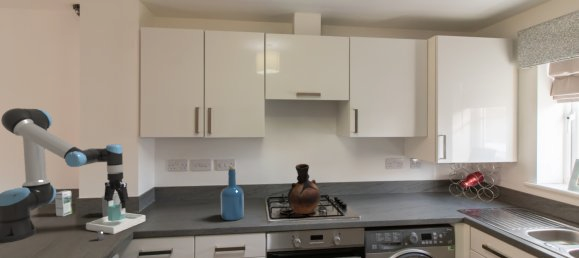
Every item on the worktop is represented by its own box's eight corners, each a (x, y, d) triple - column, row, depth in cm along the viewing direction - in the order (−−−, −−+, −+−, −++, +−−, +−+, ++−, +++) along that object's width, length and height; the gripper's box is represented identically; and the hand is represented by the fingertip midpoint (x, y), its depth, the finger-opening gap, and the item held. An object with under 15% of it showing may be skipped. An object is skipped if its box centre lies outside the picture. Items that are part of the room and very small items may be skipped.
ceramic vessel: (314, 207, 188) (314, 161, 187) (326, 215, 171) (325, 165, 170) (283, 210, 181) (283, 163, 180) (292, 219, 164) (292, 167, 163)
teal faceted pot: (128, 216, 162) (128, 204, 161) (115, 221, 154) (115, 208, 154) (118, 215, 164) (117, 203, 164) (105, 220, 157) (104, 207, 157)
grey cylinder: (106, 218, 170) (105, 197, 170) (99, 215, 176) (99, 195, 176) (123, 214, 178) (122, 194, 178) (116, 211, 184) (116, 192, 183)
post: (99, 240, 138) (99, 232, 138) (96, 240, 139) (95, 231, 139) (104, 238, 141) (104, 230, 141) (101, 238, 142) (100, 230, 141)
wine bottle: (235, 222, 161) (234, 169, 160) (216, 219, 166) (215, 167, 166) (248, 215, 173) (247, 165, 172) (230, 212, 179) (229, 164, 178)
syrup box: (63, 216, 175) (62, 192, 175) (55, 215, 176) (54, 192, 176) (72, 213, 181) (71, 190, 180) (64, 213, 182) (63, 190, 181)
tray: (113, 234, 147) (113, 227, 146) (86, 229, 153) (85, 223, 153) (145, 220, 165) (145, 215, 165) (119, 217, 172) (119, 211, 172)
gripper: (135, 172, 158) (136, 212, 159) (107, 170, 165) (109, 209, 166) (123, 174, 151) (124, 217, 152) (95, 172, 158) (96, 213, 159)
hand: (116, 213), depth 159 cm, fingers closed on teal faceted pot, 8 cm apart
